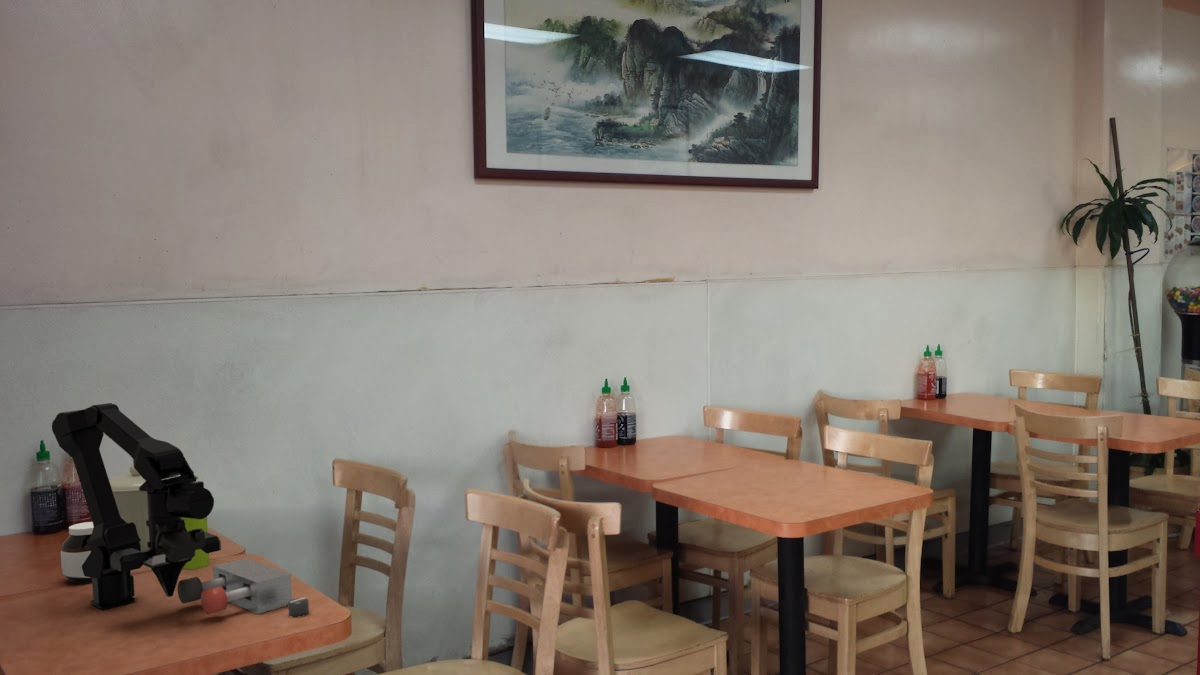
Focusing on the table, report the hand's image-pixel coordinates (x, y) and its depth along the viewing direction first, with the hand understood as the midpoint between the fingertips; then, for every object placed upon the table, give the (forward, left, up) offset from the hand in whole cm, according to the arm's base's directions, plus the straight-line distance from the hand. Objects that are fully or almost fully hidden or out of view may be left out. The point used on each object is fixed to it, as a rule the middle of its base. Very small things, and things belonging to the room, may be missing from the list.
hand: (169, 596), depth 189 cm
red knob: (+9, -10, -2) cm, 13 cm away
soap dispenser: (+17, +29, -4) cm, 34 cm away
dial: (+15, -20, -4) cm, 26 cm away
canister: (+15, +52, -4) cm, 54 cm away
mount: (+14, -5, -3) cm, 15 cm away
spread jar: (-1, +40, -4) cm, 40 cm away
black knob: (+9, 0, -2) cm, 9 cm away
